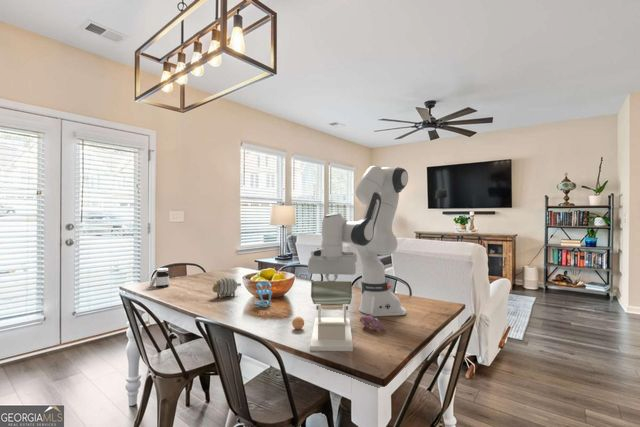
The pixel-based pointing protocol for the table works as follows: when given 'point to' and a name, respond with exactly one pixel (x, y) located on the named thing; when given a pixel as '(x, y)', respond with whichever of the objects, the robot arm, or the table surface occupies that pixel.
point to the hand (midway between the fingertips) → (331, 284)
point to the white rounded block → (160, 278)
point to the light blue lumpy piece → (263, 293)
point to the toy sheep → (225, 286)
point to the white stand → (331, 333)
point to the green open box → (331, 294)
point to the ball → (298, 322)
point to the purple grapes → (371, 322)
